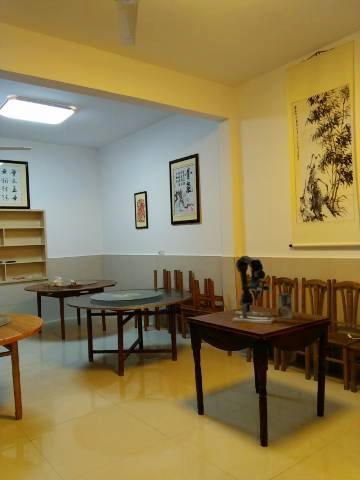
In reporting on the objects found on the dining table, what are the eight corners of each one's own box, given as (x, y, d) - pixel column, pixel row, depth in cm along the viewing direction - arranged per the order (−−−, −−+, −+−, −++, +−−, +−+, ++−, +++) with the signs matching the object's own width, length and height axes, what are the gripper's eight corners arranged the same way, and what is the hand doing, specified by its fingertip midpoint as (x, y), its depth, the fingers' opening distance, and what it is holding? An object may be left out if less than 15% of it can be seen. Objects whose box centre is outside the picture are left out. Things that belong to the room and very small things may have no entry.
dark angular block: (244, 316, 271) (244, 304, 271) (247, 316, 270) (246, 304, 270) (242, 317, 266) (242, 305, 266) (245, 317, 266) (244, 306, 266)
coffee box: (292, 316, 273) (291, 293, 273) (292, 318, 267) (291, 295, 267) (279, 316, 276) (278, 293, 276) (278, 318, 270) (277, 295, 270)
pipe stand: (237, 317, 277) (236, 309, 277) (274, 319, 266) (273, 311, 266) (232, 321, 266) (231, 312, 266) (270, 323, 255) (270, 314, 255)
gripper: (239, 278, 268) (240, 301, 268) (266, 279, 260) (267, 302, 260) (243, 277, 278) (244, 298, 278) (269, 277, 270) (270, 299, 271)
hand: (256, 300), depth 272 cm, fingers closed
